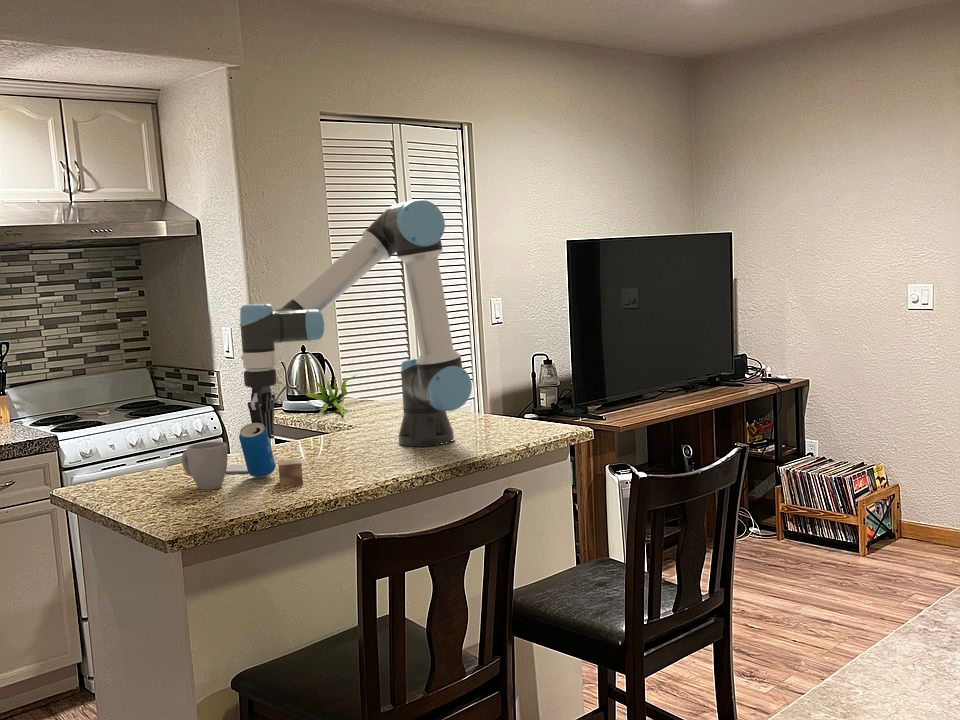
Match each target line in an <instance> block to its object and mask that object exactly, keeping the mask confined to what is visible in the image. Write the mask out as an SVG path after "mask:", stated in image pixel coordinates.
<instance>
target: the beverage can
mask: <svg viewBox="0 0 960 720" xmlns="http://www.w3.org/2000/svg"><path fill="white" fill-rule="evenodd" d="M238 438H239V443H240V446H241V449H242V454H243V458H244V461H245V462H244V463H245V464H246V466H247V470H248V473H249V476H251V477H254V478H256V479H257V478H258V479H259V478H260V479H261V478H266V477H268V476H269V475H271V474H272V473H273V472H274V471H275V470H276V461H275V458H274V454H273V448H272V443H271V444H270V440H269V436H268V432H267V429H266V428H265V427H264V425H263V424H261V423H252V422H251V423H248V424H245V425H244V426H242V427H241V429H240V430H239V435H238Z"/></svg>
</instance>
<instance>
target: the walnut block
mask: <svg viewBox="0 0 960 720" xmlns="http://www.w3.org/2000/svg"><path fill="white" fill-rule="evenodd" d="M277 464H278V478H279V479H278V480H279V481H278V482H279V487H280V488H282V487H283V488H284V487H285V488H286V487H292V486H293V487H294V486H302V485H304V482H303V481H304V479H303V468H302V460H301V458H298V459H297V458H296V459H287V460H278V463H277Z"/></svg>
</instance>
